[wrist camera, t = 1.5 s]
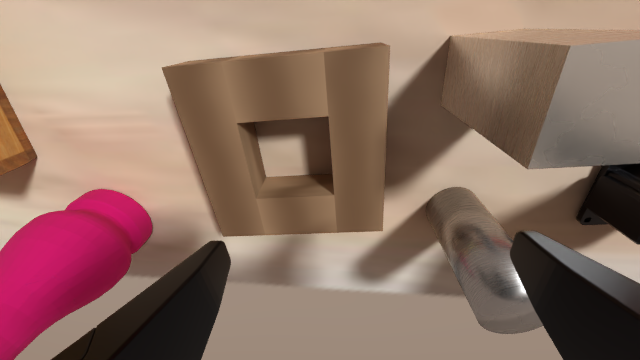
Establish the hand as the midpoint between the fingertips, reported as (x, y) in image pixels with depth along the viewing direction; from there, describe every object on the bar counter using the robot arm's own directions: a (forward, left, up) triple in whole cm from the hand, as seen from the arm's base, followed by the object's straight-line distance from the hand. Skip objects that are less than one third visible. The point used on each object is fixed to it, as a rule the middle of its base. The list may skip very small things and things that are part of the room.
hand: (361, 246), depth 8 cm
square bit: (-8, -3, -12) cm, 14 cm away
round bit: (-8, +8, -12) cm, 16 cm away
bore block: (+4, +1, -12) cm, 12 cm away
